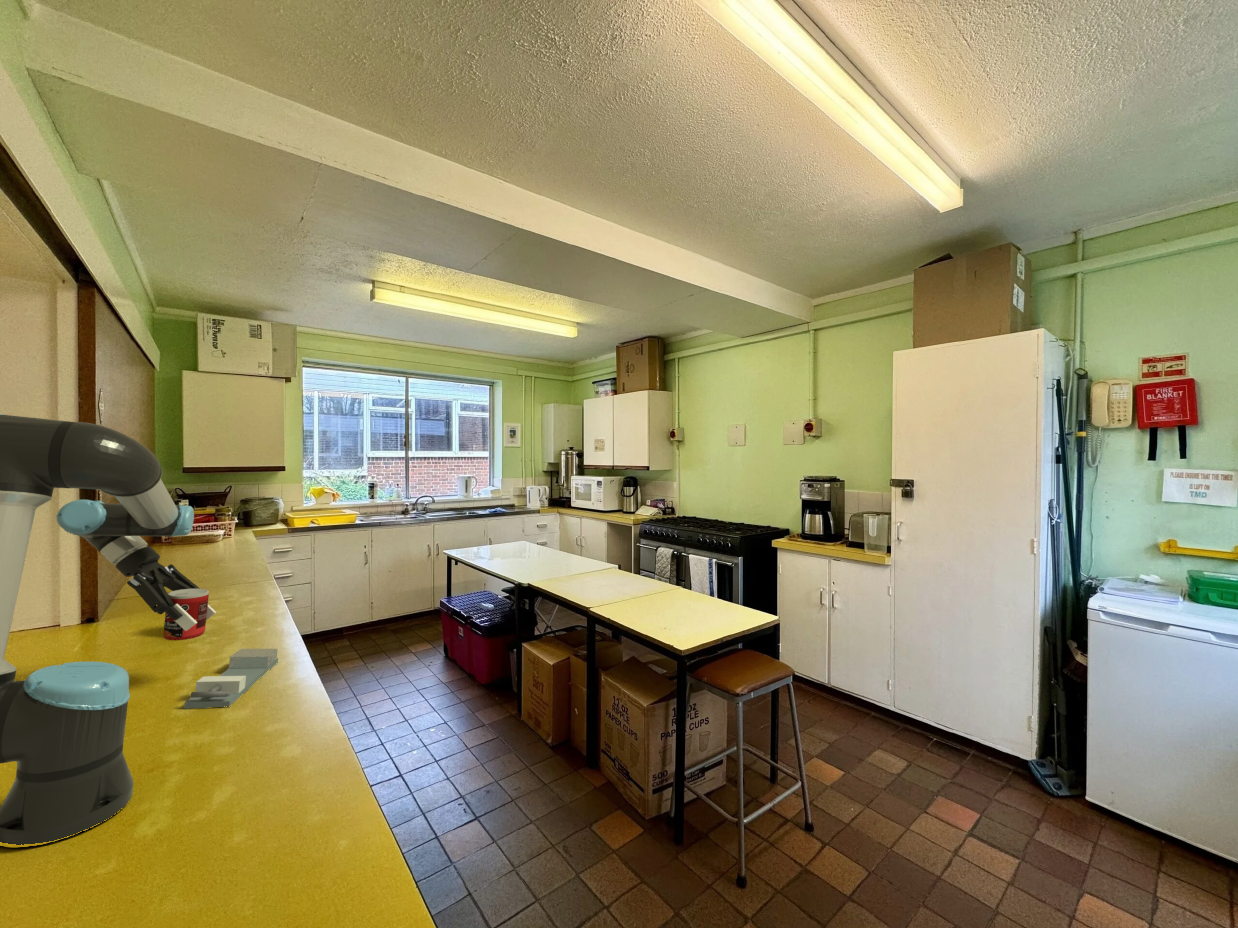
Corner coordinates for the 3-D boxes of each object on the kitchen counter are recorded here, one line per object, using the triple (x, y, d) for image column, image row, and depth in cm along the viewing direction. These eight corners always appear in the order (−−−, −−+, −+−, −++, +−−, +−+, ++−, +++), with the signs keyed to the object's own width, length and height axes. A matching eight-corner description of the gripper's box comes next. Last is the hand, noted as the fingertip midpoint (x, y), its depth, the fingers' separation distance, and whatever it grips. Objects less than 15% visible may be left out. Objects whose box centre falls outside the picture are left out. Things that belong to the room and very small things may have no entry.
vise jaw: (267, 667, 133) (268, 656, 133) (228, 668, 131) (229, 656, 131) (276, 659, 139) (277, 648, 139) (240, 659, 137) (241, 648, 137)
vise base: (228, 707, 115) (230, 688, 115) (183, 708, 113) (185, 689, 113) (277, 663, 140) (279, 647, 140) (241, 663, 138) (243, 647, 138)
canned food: (157, 635, 122) (161, 591, 122) (196, 628, 129) (200, 586, 129) (171, 643, 118) (175, 597, 119) (210, 634, 126) (215, 592, 126)
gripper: (146, 557, 130) (211, 619, 134) (83, 575, 110) (161, 646, 114) (172, 538, 132) (235, 600, 135) (114, 552, 112) (190, 624, 115)
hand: (201, 621), depth 125 cm, fingers closed on canned food, 8 cm apart
